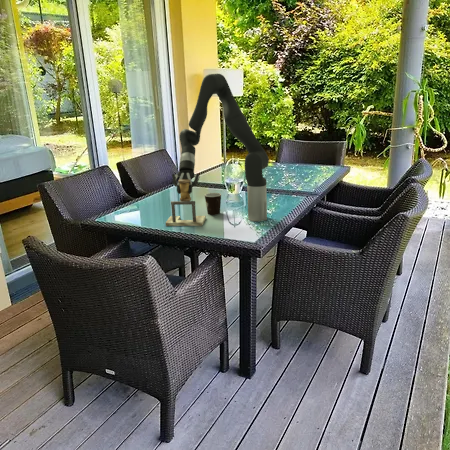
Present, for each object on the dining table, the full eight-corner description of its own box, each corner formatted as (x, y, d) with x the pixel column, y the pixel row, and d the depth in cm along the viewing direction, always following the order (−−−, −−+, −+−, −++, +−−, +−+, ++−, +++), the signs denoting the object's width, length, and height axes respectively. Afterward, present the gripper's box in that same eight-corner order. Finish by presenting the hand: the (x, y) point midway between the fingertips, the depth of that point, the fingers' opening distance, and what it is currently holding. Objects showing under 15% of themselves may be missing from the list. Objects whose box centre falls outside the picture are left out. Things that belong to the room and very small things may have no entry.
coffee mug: (206, 211, 235) (205, 193, 232) (222, 210, 234) (221, 192, 231) (204, 217, 224) (203, 198, 220) (221, 217, 223) (220, 198, 220)
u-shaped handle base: (205, 218, 222) (204, 196, 218) (202, 225, 211) (201, 201, 208) (170, 219, 224) (168, 196, 220) (165, 225, 213) (163, 202, 210)
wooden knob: (192, 198, 219) (190, 178, 216) (190, 201, 214) (188, 181, 211) (181, 198, 220) (179, 179, 216) (178, 201, 214) (177, 181, 211)
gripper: (171, 159, 219) (168, 189, 211) (200, 159, 217) (197, 188, 209) (174, 168, 225) (171, 197, 218) (202, 167, 224) (199, 196, 216)
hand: (184, 192), depth 214 cm, fingers closed on wooden knob, 4 cm apart
